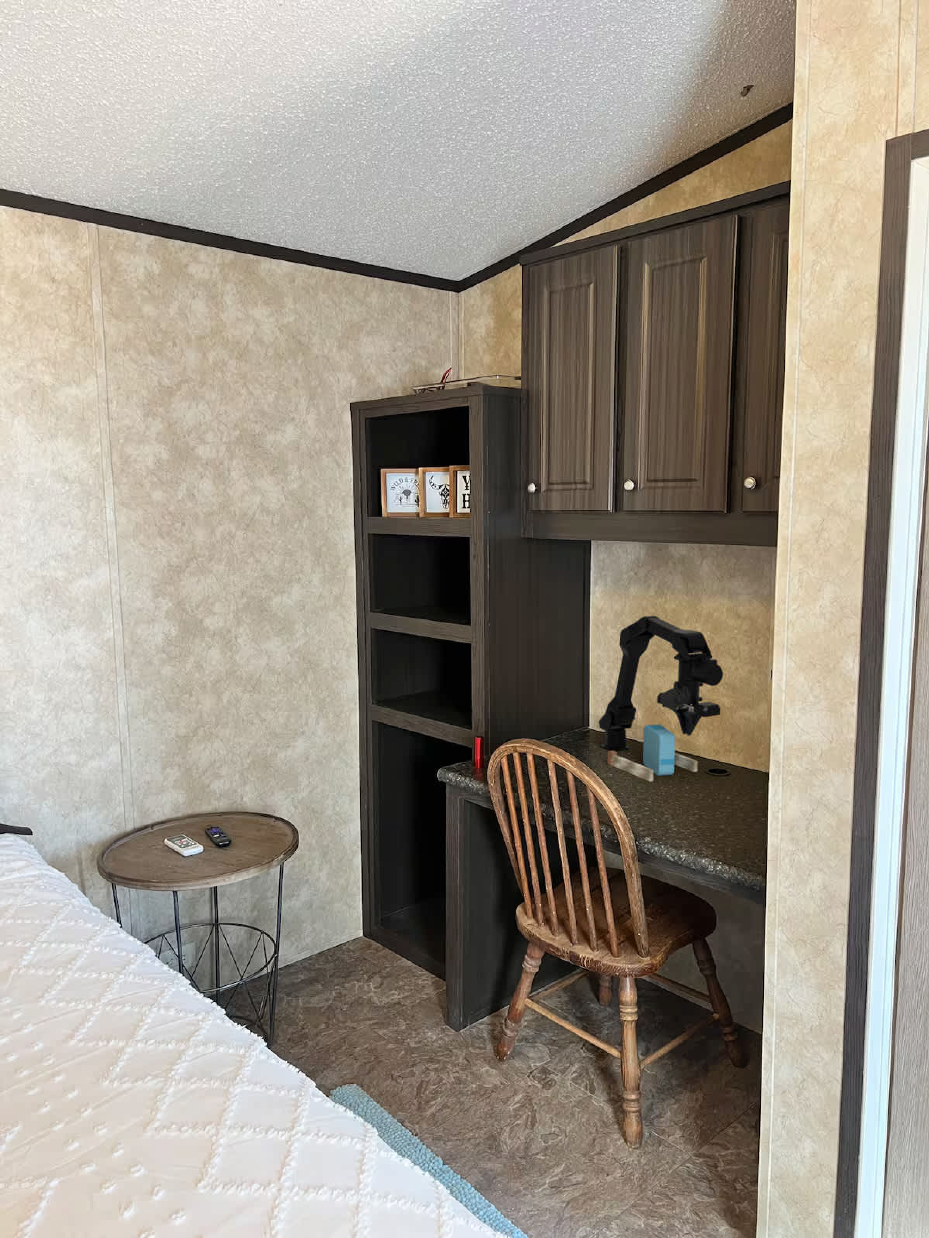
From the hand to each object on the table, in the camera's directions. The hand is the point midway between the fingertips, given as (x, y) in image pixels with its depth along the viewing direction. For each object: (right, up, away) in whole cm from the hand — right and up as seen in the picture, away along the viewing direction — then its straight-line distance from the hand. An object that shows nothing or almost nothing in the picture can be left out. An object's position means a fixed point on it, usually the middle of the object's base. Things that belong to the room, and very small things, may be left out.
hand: (686, 734), depth 251 cm
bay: (-6, -11, +13) cm, 18 cm away
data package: (-5, -12, +11) cm, 17 cm away
